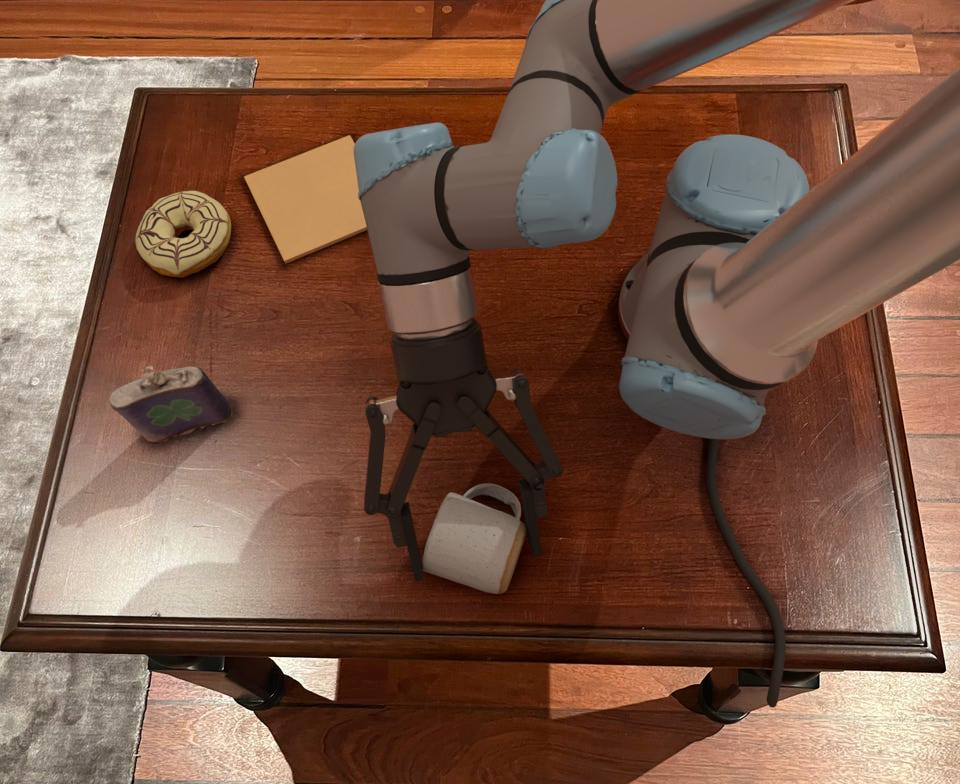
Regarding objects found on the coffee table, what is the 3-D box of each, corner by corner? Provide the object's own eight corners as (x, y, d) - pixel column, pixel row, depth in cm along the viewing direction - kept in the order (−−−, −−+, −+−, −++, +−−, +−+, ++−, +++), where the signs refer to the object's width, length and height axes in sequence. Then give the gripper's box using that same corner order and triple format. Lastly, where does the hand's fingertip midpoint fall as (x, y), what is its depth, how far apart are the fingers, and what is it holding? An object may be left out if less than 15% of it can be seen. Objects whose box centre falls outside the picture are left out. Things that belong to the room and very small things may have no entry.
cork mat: (396, 218, 94) (395, 214, 94) (285, 264, 92) (284, 261, 91) (350, 138, 100) (349, 134, 99) (245, 179, 97) (243, 176, 97)
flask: (147, 447, 82) (100, 403, 73) (143, 422, 84) (96, 376, 74) (235, 420, 83) (200, 373, 74) (230, 396, 85) (194, 347, 75)
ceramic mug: (505, 606, 74) (506, 587, 67) (423, 578, 76) (415, 557, 69) (538, 503, 79) (542, 475, 72) (460, 478, 80) (456, 449, 73)
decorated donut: (125, 252, 93) (110, 232, 90) (191, 193, 97) (180, 172, 93) (187, 297, 90) (174, 278, 87) (253, 234, 94) (243, 214, 90)
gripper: (559, 291, 69) (588, 516, 76) (299, 339, 67) (354, 564, 75) (580, 310, 62) (610, 556, 69) (290, 364, 60) (352, 610, 68)
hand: (477, 560), depth 72 cm, fingers closed on ceramic mug, 10 cm apart
